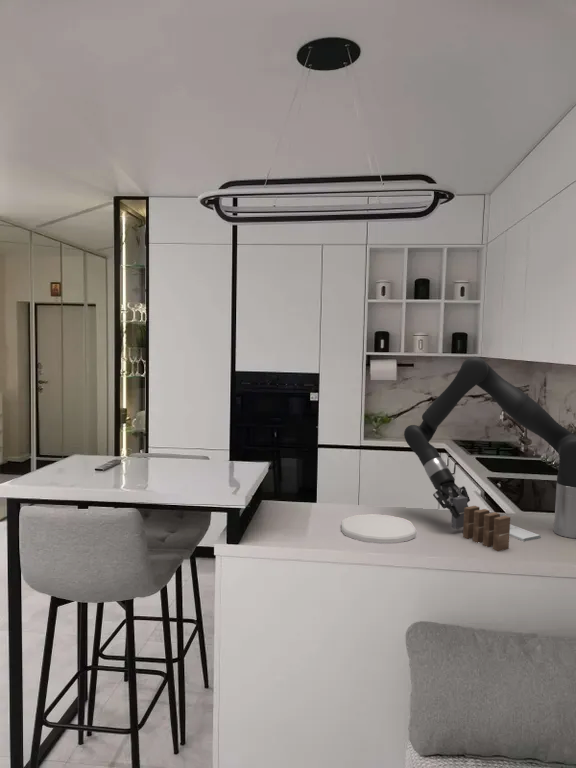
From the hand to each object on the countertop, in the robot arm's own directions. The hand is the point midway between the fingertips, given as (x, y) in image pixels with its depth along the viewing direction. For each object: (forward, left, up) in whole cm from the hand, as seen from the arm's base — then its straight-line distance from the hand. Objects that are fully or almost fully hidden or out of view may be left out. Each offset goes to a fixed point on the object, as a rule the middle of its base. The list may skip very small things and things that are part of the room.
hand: (463, 516), depth 190 cm
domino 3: (-2, +7, -6) cm, 10 cm away
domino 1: (+1, -2, -4) cm, 5 cm away
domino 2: (-1, +3, -6) cm, 7 cm away
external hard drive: (-19, +2, -7) cm, 20 cm away
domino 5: (-5, +14, -6) cm, 17 cm away
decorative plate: (+28, -7, -7) cm, 29 cm away
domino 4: (-4, +11, -6) cm, 13 cm away
